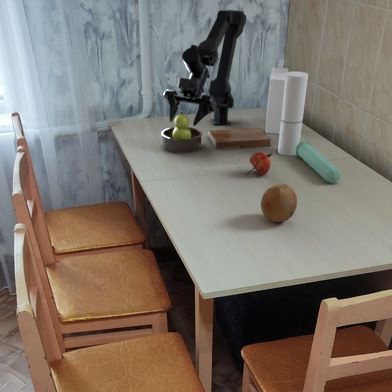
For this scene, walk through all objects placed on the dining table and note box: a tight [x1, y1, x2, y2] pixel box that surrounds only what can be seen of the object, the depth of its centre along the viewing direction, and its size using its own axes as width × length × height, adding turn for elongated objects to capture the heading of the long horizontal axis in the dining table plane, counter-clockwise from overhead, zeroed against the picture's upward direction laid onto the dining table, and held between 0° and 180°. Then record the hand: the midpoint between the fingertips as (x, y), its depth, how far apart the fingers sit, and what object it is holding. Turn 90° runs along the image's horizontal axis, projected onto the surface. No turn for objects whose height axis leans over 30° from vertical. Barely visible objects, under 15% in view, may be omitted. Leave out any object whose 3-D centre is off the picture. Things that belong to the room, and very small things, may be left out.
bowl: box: [160, 126, 203, 154], centre depth 192 cm, size 14×14×5 cm
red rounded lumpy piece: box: [245, 151, 273, 176], centre depth 172 cm, size 7×7×10 cm
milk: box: [264, 67, 289, 135], centre depth 201 cm, size 6×6×22 cm
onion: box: [260, 183, 298, 223], centre depth 145 cm, size 10×10×10 cm
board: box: [207, 127, 272, 149], centre depth 198 cm, size 13×20×2 cm, turn 101°
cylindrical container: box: [277, 71, 309, 157], centre depth 182 cm, size 7×7×25 cm
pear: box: [172, 111, 191, 139], centre depth 189 cm, size 7×7×12 cm
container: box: [295, 140, 341, 184], centre depth 175 cm, size 6×6×25 cm
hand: (182, 123), depth 188 cm, fingers open, 9 cm apart
